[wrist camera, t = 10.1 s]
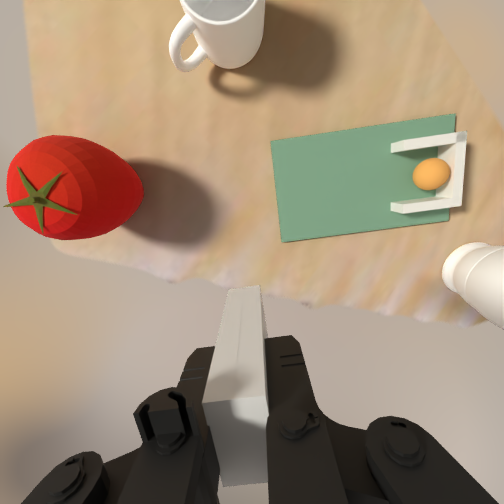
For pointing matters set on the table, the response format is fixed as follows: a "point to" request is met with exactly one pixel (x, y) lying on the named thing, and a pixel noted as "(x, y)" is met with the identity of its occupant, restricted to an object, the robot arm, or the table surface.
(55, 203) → the tomato
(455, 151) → the white c-shaped bracket
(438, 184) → the ball
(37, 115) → the table surface
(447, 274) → the jar
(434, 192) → the putting mat
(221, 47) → the cup
